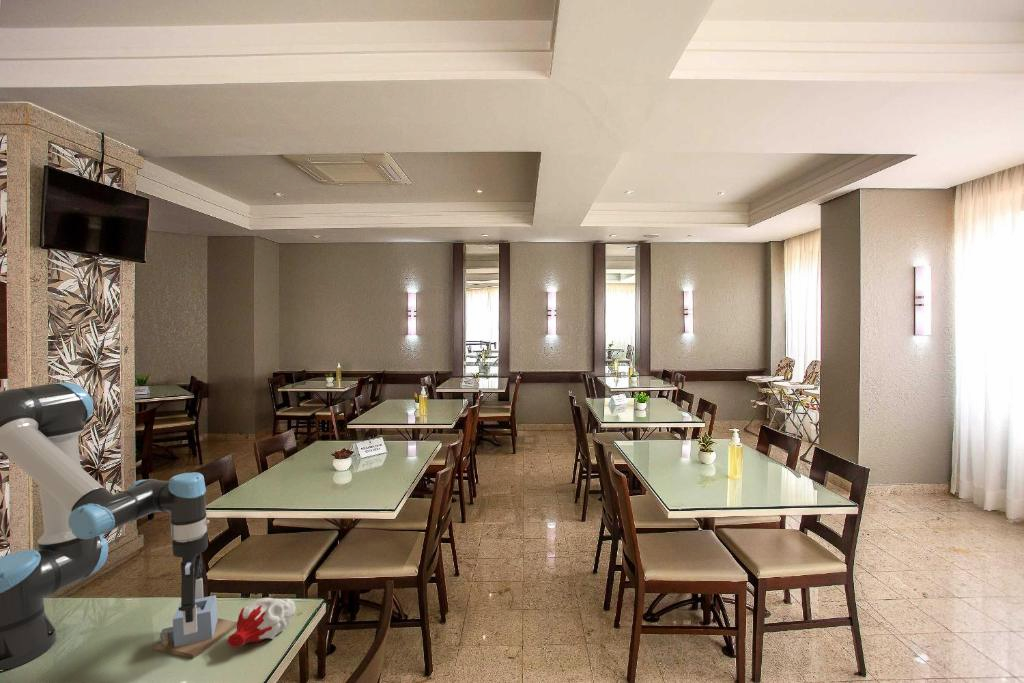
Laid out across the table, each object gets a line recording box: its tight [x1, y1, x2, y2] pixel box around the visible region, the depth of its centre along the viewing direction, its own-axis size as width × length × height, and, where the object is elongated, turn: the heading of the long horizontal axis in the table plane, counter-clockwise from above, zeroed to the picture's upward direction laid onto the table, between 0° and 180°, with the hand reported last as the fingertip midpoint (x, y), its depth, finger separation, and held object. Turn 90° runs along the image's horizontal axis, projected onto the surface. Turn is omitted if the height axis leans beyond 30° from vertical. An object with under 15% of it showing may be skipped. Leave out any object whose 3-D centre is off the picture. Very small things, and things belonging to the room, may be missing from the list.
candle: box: [226, 597, 297, 648], centre depth 127 cm, size 9×11×15 cm
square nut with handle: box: [159, 594, 218, 647], centre depth 128 cm, size 12×8×7 cm
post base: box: [152, 607, 237, 659], centre depth 128 cm, size 13×13×7 cm
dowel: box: [163, 632, 169, 647], centre depth 124 cm, size 1×1×3 cm
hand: (194, 617), depth 128 cm, fingers open, 13 cm apart
